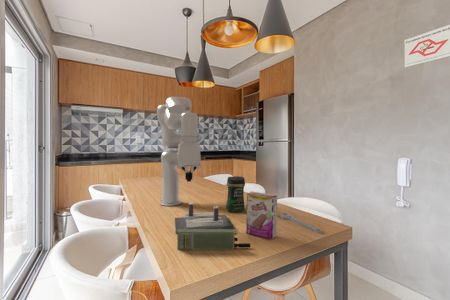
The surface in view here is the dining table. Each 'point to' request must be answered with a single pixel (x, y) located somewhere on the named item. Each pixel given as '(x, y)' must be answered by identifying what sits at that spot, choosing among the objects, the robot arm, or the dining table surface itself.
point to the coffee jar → (235, 194)
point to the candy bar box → (261, 214)
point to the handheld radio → (208, 239)
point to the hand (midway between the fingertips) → (188, 181)
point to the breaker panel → (203, 222)
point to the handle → (216, 213)
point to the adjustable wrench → (300, 222)
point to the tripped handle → (190, 209)
